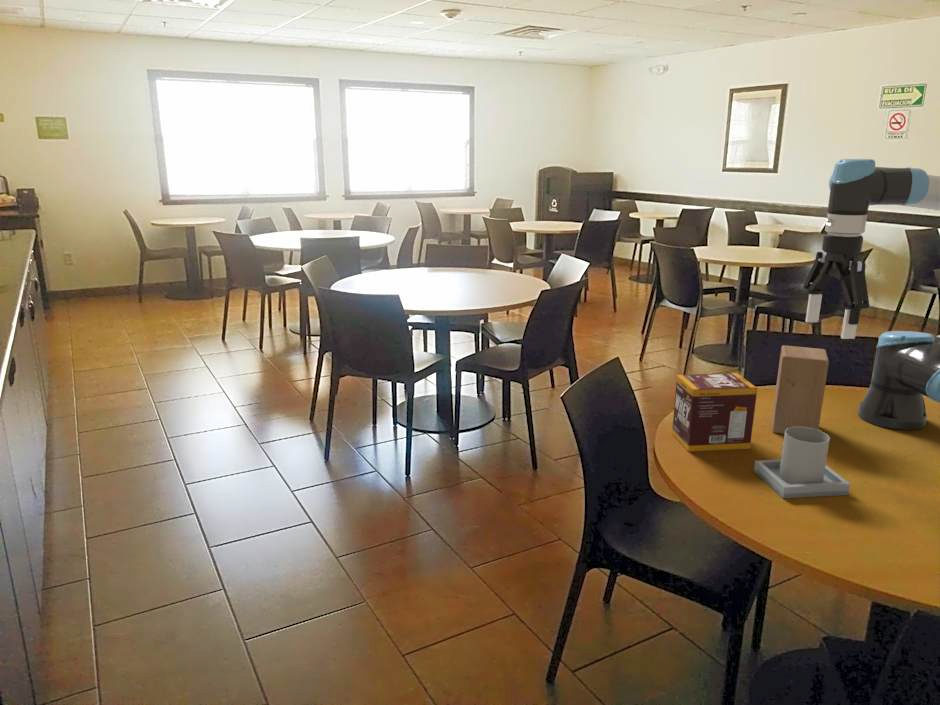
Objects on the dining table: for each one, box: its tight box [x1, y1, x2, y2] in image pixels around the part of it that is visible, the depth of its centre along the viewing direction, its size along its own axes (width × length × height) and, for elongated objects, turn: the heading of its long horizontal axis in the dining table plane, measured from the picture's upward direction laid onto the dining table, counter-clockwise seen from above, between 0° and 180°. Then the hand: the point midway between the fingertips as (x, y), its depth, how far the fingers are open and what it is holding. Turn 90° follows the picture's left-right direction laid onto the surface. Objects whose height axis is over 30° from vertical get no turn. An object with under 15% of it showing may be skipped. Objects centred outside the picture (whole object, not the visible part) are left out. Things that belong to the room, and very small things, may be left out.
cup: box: [779, 427, 831, 484], centre depth 144 cm, size 8×8×10 cm
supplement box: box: [671, 372, 758, 453], centre depth 163 cm, size 10×15×16 cm
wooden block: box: [771, 345, 830, 435], centre depth 169 cm, size 10×10×20 cm
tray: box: [753, 458, 851, 499], centre depth 145 cm, size 14×12×2 cm
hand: (828, 329), depth 153 cm, fingers open, 13 cm apart
